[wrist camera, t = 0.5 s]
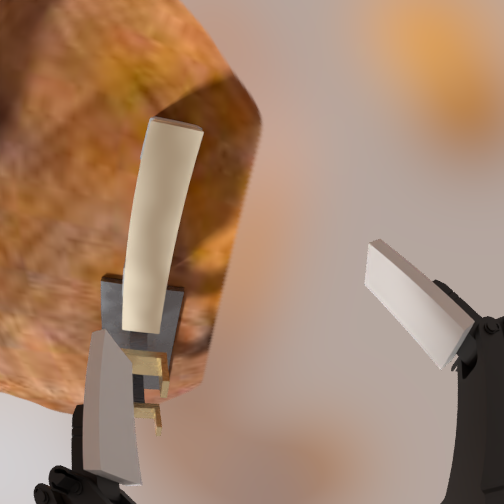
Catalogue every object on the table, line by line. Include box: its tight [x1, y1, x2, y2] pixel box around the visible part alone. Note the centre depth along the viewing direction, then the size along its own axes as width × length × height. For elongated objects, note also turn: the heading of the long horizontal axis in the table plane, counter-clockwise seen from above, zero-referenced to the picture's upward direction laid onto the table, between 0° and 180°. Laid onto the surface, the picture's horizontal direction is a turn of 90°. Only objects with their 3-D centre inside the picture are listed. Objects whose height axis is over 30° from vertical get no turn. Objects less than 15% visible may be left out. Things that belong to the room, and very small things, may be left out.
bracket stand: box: [101, 277, 184, 436], centre depth 36 cm, size 12×26×14 cm, turn 161°
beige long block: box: [122, 119, 204, 334], centre depth 24 cm, size 4×20×6 cm, turn 161°
